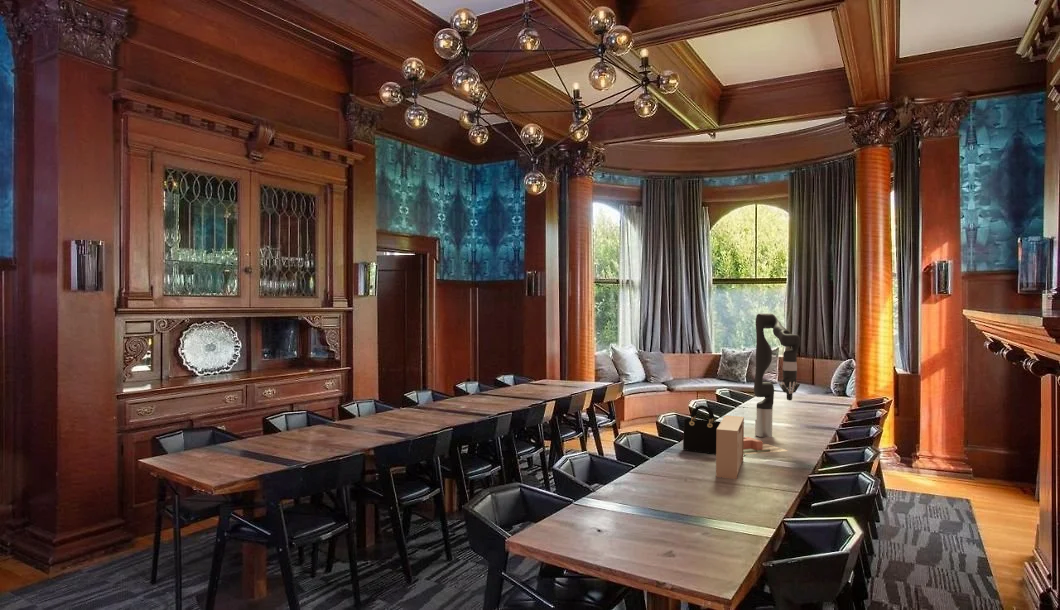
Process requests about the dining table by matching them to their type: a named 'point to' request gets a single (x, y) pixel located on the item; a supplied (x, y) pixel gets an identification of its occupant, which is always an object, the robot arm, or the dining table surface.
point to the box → (729, 446)
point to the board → (766, 449)
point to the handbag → (700, 432)
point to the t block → (752, 443)
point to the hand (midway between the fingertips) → (789, 400)
